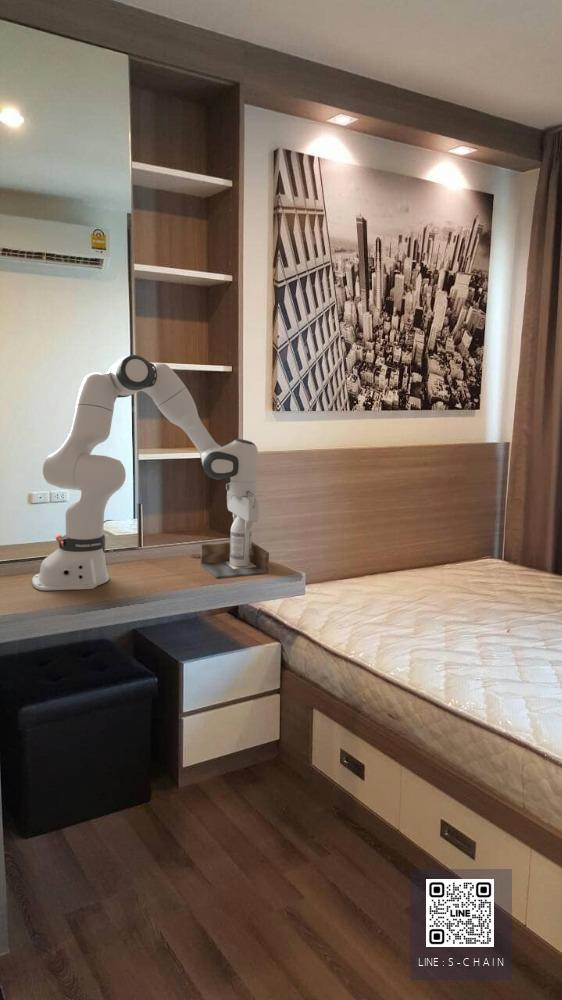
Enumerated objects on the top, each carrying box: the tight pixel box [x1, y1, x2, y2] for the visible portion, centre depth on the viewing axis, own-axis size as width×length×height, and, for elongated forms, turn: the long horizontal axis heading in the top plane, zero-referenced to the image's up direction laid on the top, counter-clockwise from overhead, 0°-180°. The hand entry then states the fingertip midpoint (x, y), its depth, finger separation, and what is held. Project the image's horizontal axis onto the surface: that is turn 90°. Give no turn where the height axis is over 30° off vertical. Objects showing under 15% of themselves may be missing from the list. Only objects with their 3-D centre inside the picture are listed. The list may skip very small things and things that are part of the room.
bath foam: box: [229, 516, 252, 567], centre depth 240 cm, size 7×7×20 cm
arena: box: [199, 540, 270, 579], centre depth 238 cm, size 18×16×7 cm
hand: (241, 529), depth 239 cm, fingers open, 8 cm apart
